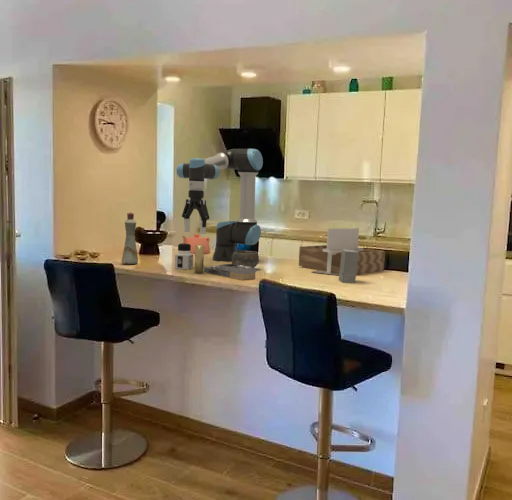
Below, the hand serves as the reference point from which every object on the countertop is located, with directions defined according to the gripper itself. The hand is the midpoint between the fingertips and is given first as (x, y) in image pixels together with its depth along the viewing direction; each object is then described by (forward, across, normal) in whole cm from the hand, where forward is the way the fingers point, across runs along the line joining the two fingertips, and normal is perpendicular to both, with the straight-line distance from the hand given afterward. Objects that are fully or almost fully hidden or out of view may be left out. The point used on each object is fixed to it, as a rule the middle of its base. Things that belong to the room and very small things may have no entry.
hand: (194, 232), depth 285 cm
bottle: (+20, -44, -12) cm, 50 cm away
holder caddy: (+19, +28, +79) cm, 86 cm away
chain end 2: (+20, +16, +11) cm, 28 cm away
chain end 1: (+20, +16, +11) cm, 28 cm away
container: (+20, -16, +5) cm, 26 cm away
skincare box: (+20, +59, +48) cm, 79 cm away
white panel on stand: (+19, +34, +72) cm, 82 cm away
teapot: (+20, -63, +45) cm, 80 cm away
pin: (+20, +2, +2) cm, 20 cm away
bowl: (+20, +5, +30) cm, 36 cm away
